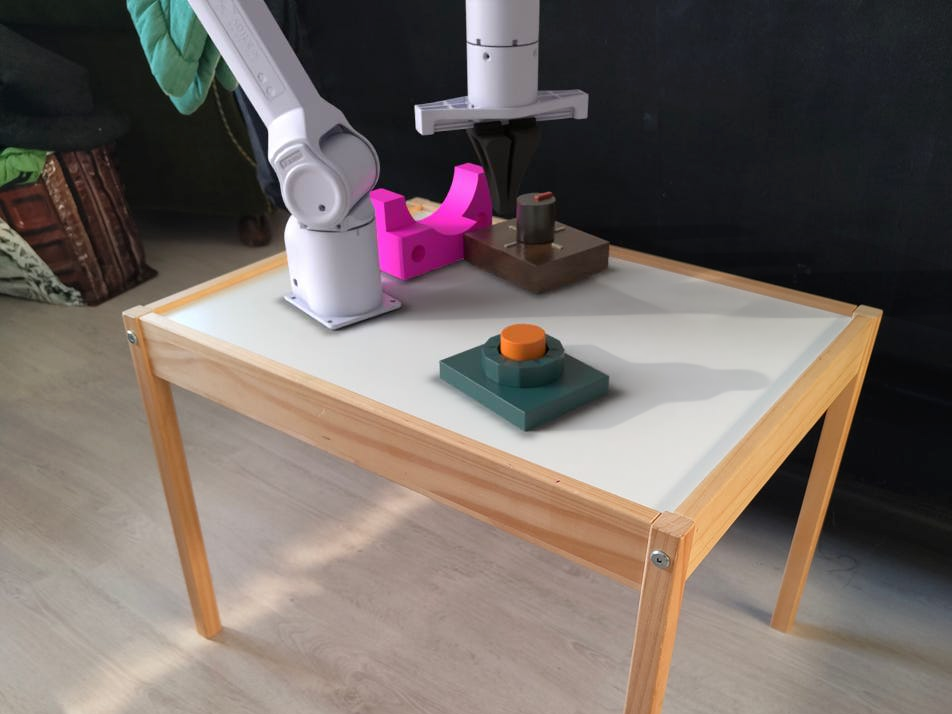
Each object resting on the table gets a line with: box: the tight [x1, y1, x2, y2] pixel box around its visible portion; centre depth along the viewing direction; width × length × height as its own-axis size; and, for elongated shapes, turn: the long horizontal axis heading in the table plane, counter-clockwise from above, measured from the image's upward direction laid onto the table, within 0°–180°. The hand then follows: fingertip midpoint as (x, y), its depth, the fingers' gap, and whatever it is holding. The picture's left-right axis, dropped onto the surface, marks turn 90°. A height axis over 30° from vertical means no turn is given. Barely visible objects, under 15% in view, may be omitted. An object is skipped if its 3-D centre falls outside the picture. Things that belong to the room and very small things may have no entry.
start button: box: [500, 323, 547, 361], centre depth 72 cm, size 4×4×2 cm
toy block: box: [370, 162, 493, 281], centre depth 96 cm, size 15×6×8 cm, turn 133°
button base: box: [439, 333, 610, 432], centre depth 73 cm, size 11×9×4 cm
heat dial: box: [515, 191, 557, 244], centre depth 92 cm, size 4×4×4 cm
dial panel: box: [463, 217, 611, 295], centre depth 95 cm, size 12×10×3 cm
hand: (502, 210), depth 79 cm, fingers closed
